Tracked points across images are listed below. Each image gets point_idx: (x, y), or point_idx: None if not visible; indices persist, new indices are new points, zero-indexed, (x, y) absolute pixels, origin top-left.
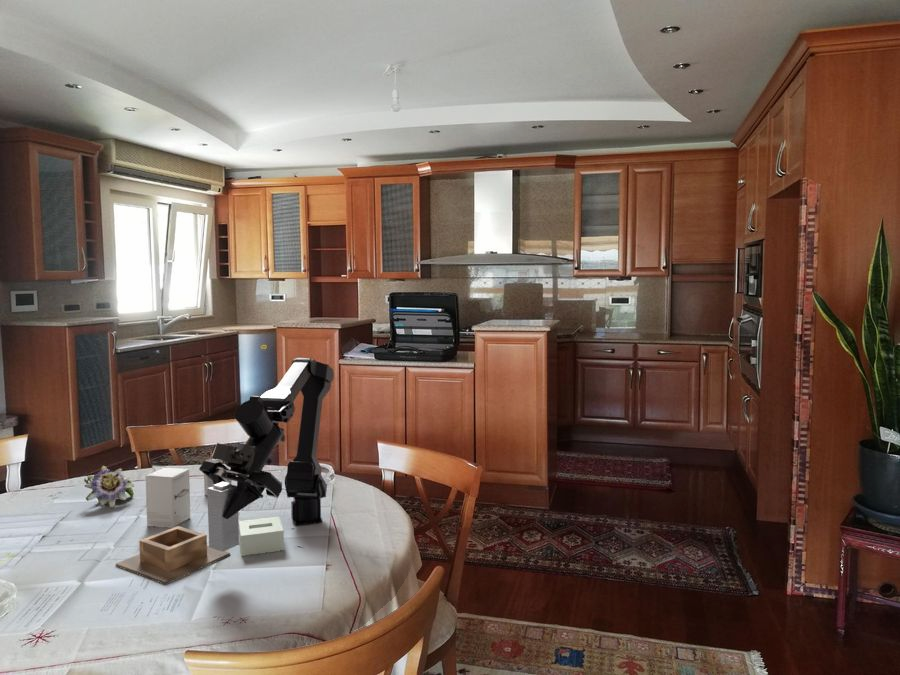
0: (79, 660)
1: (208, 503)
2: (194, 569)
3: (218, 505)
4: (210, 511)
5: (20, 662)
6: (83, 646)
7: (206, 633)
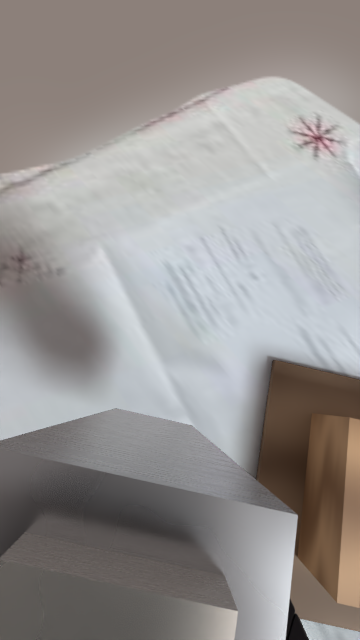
0: (197, 104)
1: (225, 459)
2: (261, 453)
3: (100, 434)
4: (195, 444)
5: (276, 84)
6: (226, 133)
7: (39, 214)
